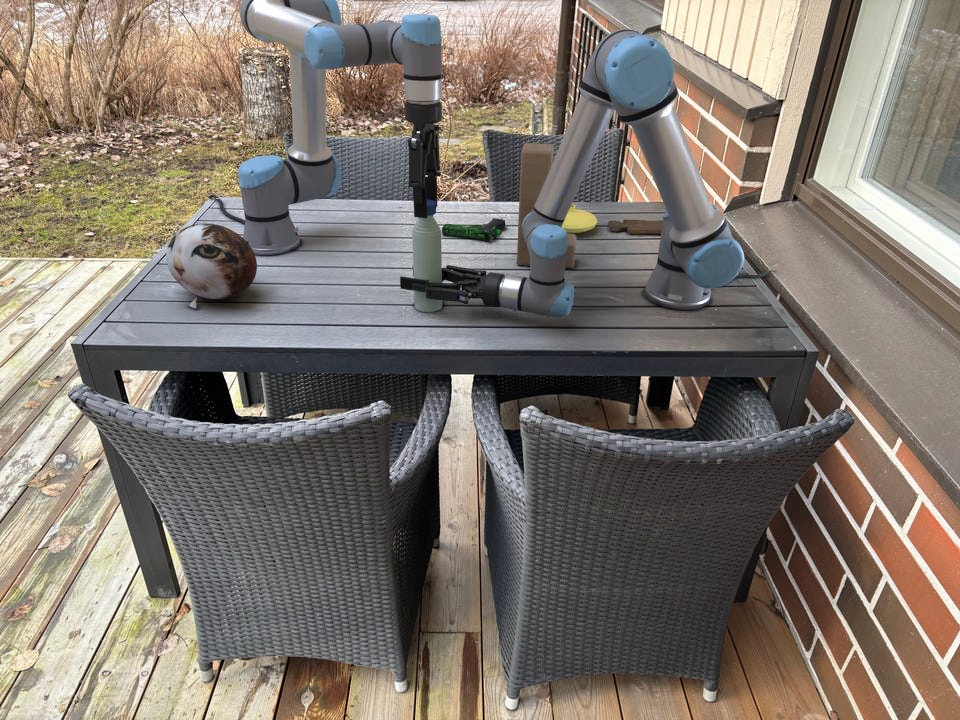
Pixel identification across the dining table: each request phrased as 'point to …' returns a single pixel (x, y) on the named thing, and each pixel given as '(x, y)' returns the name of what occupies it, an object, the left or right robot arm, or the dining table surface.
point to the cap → (431, 207)
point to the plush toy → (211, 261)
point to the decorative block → (536, 195)
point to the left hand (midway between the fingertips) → (426, 211)
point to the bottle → (427, 260)
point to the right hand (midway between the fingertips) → (407, 276)
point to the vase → (578, 221)
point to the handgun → (476, 230)
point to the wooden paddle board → (637, 226)
